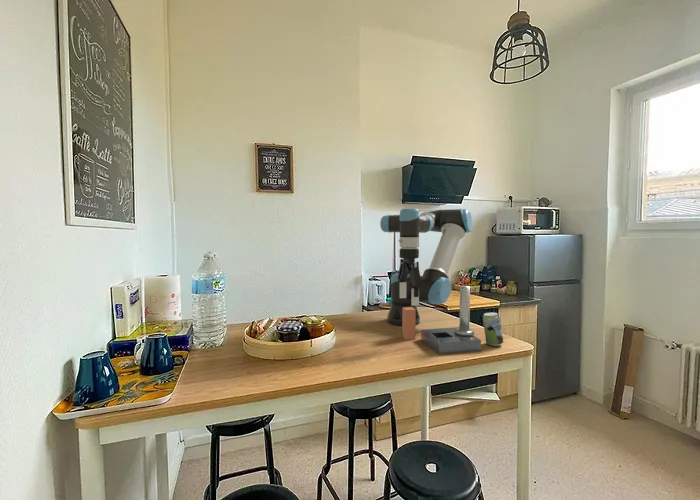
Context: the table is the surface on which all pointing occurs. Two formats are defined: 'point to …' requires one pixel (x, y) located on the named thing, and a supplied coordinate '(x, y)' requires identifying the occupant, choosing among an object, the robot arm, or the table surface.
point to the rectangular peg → (408, 323)
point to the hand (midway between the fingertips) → (408, 301)
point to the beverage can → (492, 329)
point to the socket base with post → (454, 332)
